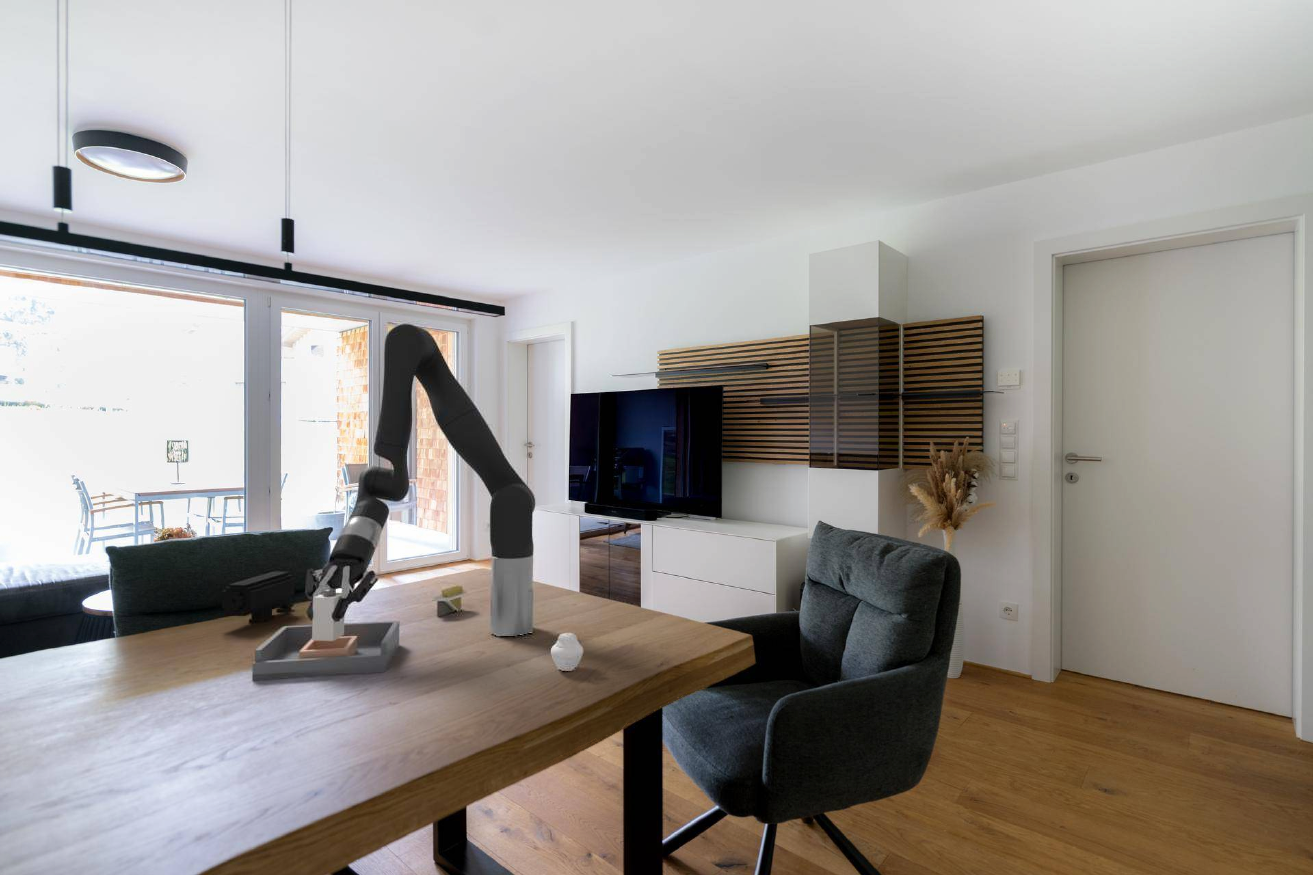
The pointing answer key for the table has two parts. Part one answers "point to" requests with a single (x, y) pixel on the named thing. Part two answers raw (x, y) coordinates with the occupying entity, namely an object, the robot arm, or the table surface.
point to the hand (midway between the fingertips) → (323, 618)
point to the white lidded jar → (567, 651)
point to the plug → (326, 617)
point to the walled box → (327, 651)
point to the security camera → (259, 596)
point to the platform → (449, 600)
